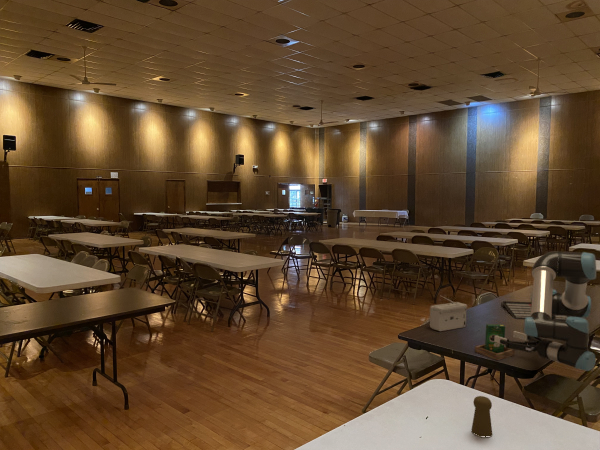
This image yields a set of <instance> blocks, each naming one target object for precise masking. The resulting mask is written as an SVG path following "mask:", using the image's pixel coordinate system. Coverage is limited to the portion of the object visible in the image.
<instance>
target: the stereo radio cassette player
mask: <svg viewBox="0 0 600 450" xmlns="http://www.w3.org/2000/svg"><path fill="white" fill-rule="evenodd" d="M440 297H442V295H440ZM443 298H444V299H445V300H447V301H449V303H440V304H434V305H430V307H429V327H430V328H431V329H432V330H435V331H439V333H440V332H442V331H443V332H444V331H449V330H456V329H461V328H462V329H463V328H466V325H467V308H468V305H467V304H466V303H464V302H463V303H461V302H459V301H456V302H455V301H452V300H451V299H449V298H447V297H444V296H443Z"/></svg>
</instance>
